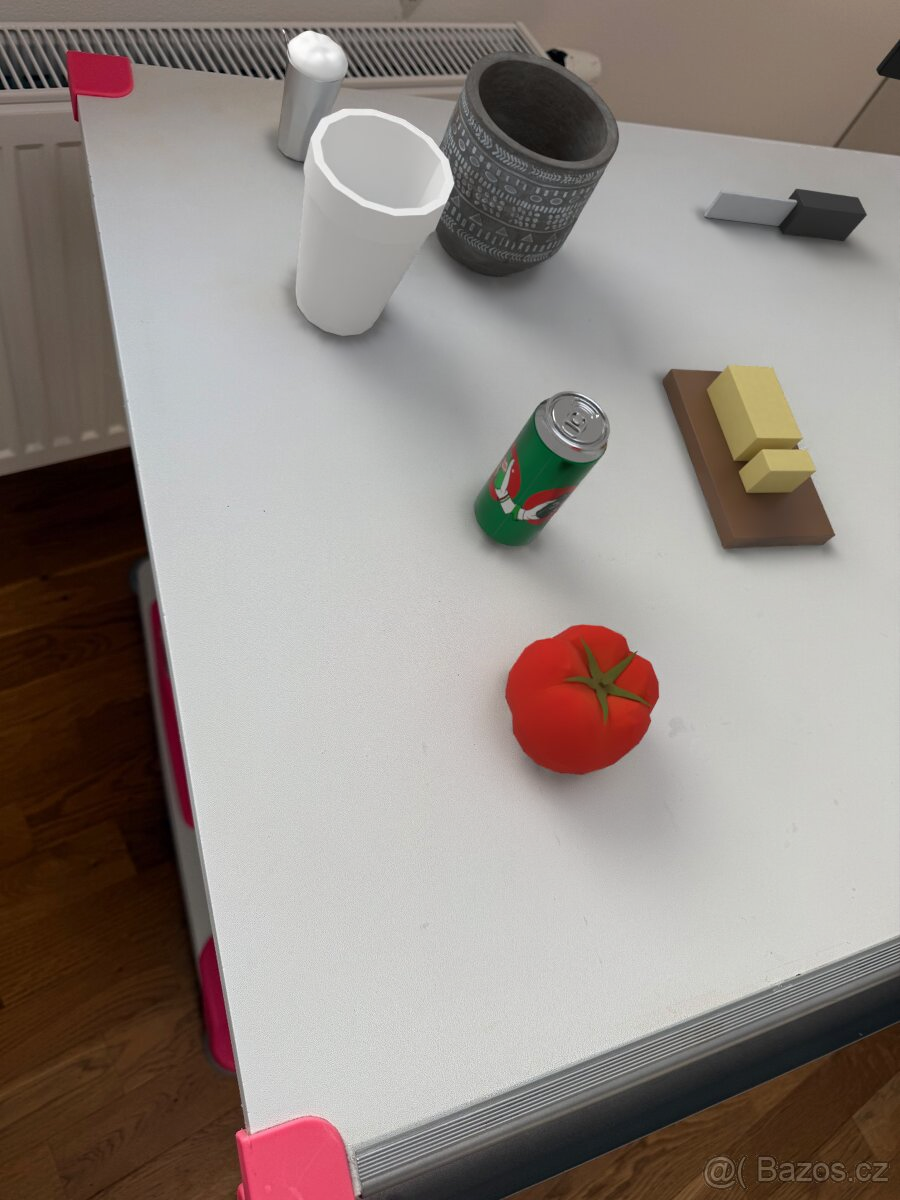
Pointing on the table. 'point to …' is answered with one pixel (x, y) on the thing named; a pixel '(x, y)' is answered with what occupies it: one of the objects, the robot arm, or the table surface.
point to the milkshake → (308, 89)
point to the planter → (521, 161)
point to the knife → (793, 212)
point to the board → (718, 474)
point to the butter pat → (777, 471)
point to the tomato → (580, 699)
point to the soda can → (542, 468)
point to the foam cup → (364, 214)
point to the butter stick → (753, 411)
